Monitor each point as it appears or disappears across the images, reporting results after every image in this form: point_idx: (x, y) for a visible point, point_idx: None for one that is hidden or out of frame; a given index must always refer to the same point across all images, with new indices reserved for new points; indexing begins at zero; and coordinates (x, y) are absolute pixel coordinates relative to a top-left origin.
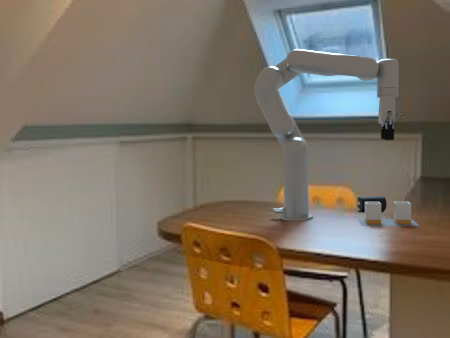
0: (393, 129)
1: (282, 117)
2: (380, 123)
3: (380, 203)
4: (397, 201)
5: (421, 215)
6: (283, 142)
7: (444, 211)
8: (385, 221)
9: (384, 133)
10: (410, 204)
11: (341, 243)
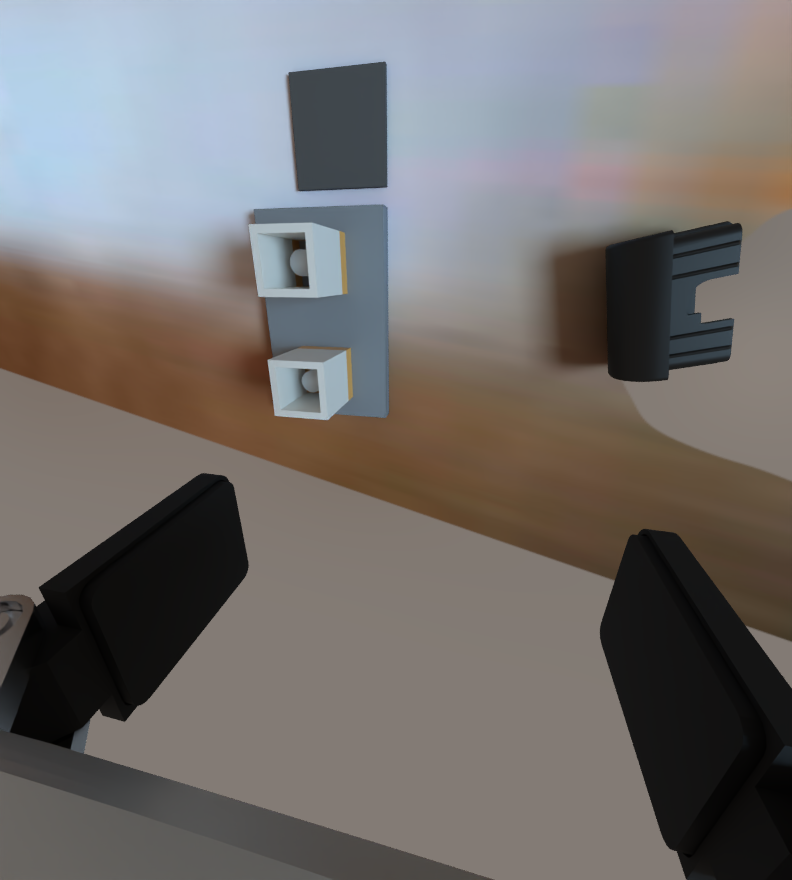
0: (108, 698)
1: None
2: (178, 797)
3: (266, 294)
4: (323, 378)
5: (532, 481)
6: None
7: (600, 572)
8: (338, 316)
9: (661, 658)
10: (275, 412)
11: (61, 119)
